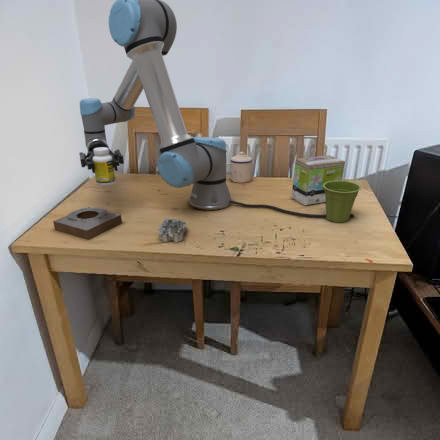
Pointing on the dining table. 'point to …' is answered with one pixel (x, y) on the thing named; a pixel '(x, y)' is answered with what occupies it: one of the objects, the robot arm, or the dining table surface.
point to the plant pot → (340, 199)
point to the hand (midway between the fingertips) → (104, 167)
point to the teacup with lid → (240, 168)
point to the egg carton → (172, 230)
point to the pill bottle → (103, 167)
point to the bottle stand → (87, 222)
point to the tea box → (315, 177)
